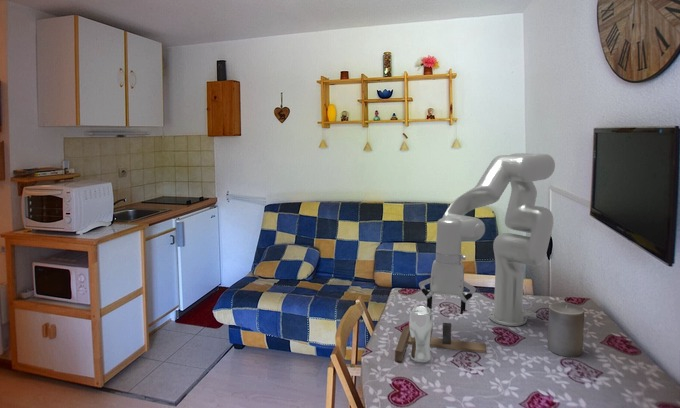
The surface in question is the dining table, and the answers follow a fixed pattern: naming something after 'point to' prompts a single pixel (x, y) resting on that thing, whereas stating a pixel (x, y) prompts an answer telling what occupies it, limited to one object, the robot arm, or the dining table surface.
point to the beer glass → (421, 333)
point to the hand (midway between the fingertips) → (445, 311)
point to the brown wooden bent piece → (438, 342)
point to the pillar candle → (565, 329)
